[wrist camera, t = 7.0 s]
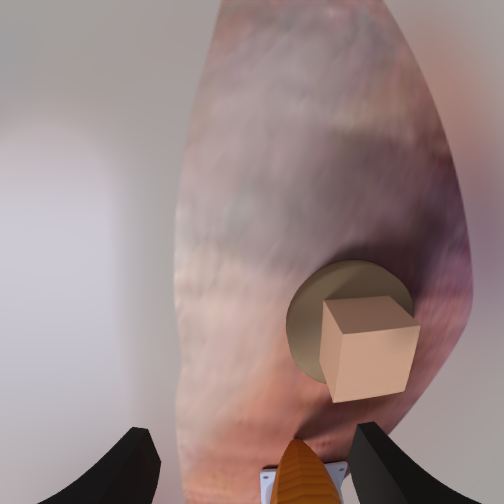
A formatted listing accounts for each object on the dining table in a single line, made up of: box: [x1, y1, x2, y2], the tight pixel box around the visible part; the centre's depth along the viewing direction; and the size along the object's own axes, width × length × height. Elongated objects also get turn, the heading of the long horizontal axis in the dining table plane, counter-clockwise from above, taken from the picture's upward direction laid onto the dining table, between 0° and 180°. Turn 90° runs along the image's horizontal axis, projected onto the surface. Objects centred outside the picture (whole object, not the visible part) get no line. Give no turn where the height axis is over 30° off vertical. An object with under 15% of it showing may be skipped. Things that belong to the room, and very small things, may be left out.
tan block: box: [319, 296, 421, 403], centre depth 15 cm, size 4×4×4 cm
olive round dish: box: [286, 259, 414, 384], centre depth 18 cm, size 8×8×2 cm
